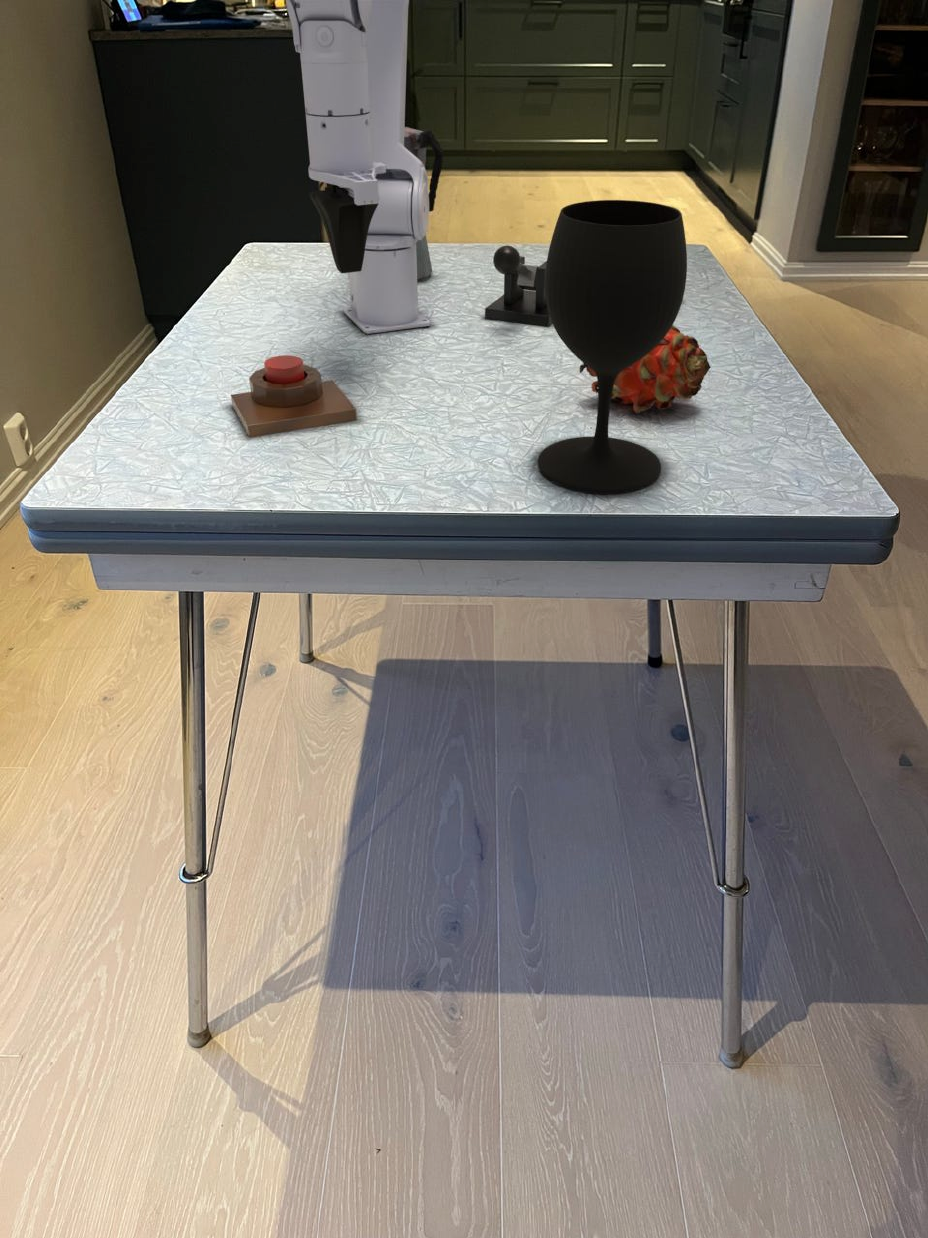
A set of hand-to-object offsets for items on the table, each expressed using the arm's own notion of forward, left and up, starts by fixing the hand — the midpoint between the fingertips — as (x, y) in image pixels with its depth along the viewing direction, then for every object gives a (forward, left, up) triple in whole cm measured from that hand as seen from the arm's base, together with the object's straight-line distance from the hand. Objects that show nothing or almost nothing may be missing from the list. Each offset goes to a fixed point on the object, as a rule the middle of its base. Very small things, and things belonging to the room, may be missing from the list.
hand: (349, 270), depth 91 cm
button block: (+8, -9, -10) cm, 15 cm away
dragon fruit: (+19, +22, -11) cm, 31 cm away
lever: (-9, +22, -6) cm, 25 cm away
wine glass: (+29, +12, -11) cm, 33 cm away
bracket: (-12, +25, -10) cm, 30 cm away
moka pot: (-33, +16, -11) cm, 39 cm away
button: (+6, -9, -8) cm, 13 cm away
